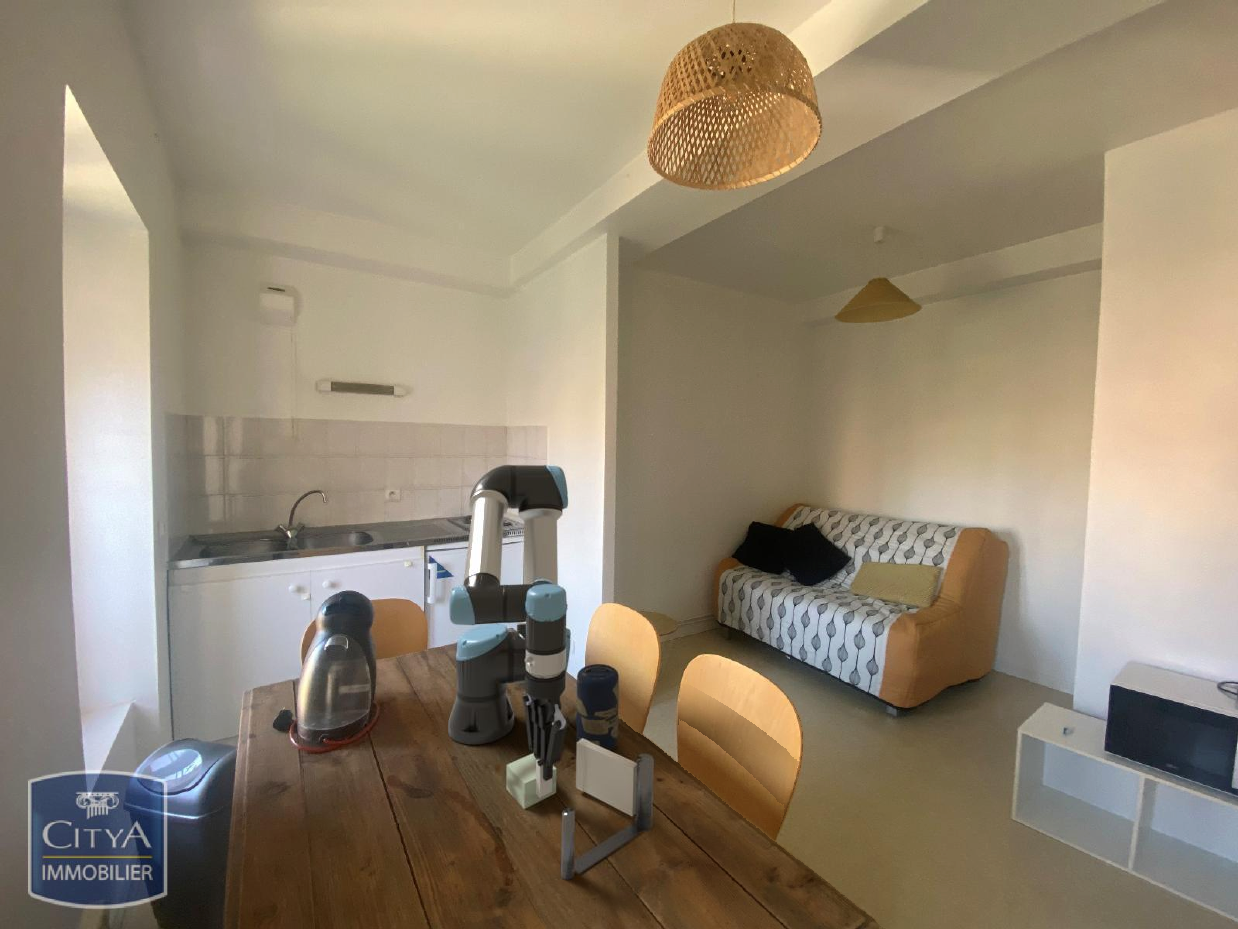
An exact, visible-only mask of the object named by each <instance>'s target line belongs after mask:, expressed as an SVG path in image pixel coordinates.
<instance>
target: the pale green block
mask: <svg viewBox="0 0 1238 929" xmlns="http://www.w3.org/2000/svg"><path fill="white" fill-rule="evenodd" d="M505 775H506V776H505V777H506V782H505V783H506V787H505V788H506V790H507V791H508V792H509V794H510V795H511V796H512V797H513V798H514V800H515V801H516V802H517V803H518V804H519V805H520V806H521V807H522V809H524V810H525V809H528V808H529V807H531V806H534V805H535V804H537V803H539V802H541V801H543V800H545V799H546V798H549V797H550V796H552V795H554V794H556V793H557V768H556V767H555V766H554V765H553V777H552V792H550V793H548V794H546V795H544V796H542V797H540V798H539V797H538V796H537V795H536V758H535V757H534V754H533V753H530V754H528V755H526V756H524V757H521V758H519V759H517V760H514V761H512V762H510V763H507V764H506V774H505Z"/></svg>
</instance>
